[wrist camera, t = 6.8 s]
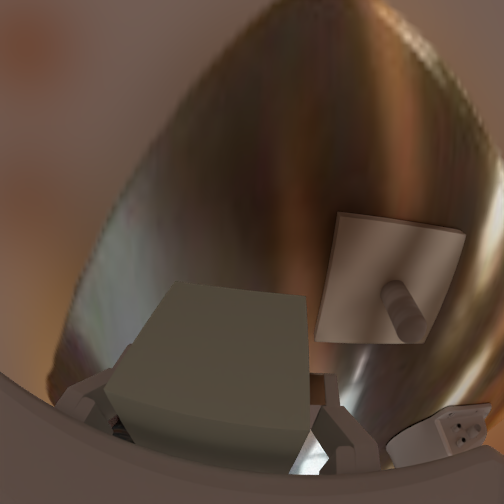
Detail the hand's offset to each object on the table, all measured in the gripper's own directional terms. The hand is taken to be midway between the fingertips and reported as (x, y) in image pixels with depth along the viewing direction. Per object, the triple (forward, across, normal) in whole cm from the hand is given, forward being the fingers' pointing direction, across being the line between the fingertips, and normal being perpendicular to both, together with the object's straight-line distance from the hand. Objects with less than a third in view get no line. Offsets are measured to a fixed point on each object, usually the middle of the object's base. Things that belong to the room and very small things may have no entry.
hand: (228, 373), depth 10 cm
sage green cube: (+2, 0, 0) cm, 2 cm away
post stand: (+13, +12, -3) cm, 18 cm away
